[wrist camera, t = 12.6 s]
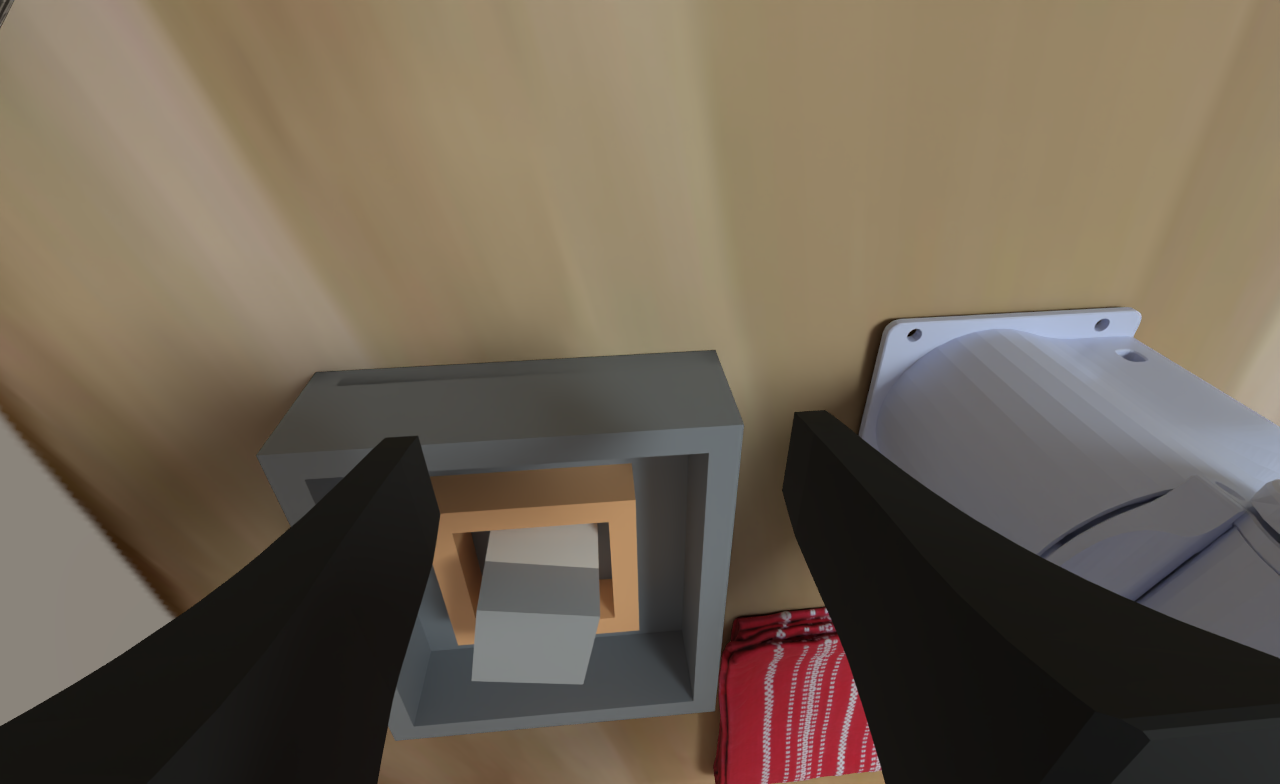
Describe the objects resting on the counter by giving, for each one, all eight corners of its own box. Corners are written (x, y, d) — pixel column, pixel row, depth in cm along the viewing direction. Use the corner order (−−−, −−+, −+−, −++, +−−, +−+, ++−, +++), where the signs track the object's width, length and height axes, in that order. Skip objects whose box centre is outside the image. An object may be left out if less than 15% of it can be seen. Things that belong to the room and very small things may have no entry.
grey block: (597, 508, 24) (600, 616, 20) (582, 574, 26) (582, 684, 22) (495, 500, 23) (476, 610, 19) (489, 568, 25) (471, 681, 21)
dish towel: (714, 605, 30) (724, 652, 28) (1150, 567, 32) (1193, 609, 29) (704, 764, 40) (711, 809, 38) (1040, 730, 41) (1065, 772, 39)
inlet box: (715, 350, 21) (744, 424, 17) (698, 622, 30) (714, 711, 26) (315, 372, 20) (256, 455, 17) (419, 646, 29) (395, 740, 25)
